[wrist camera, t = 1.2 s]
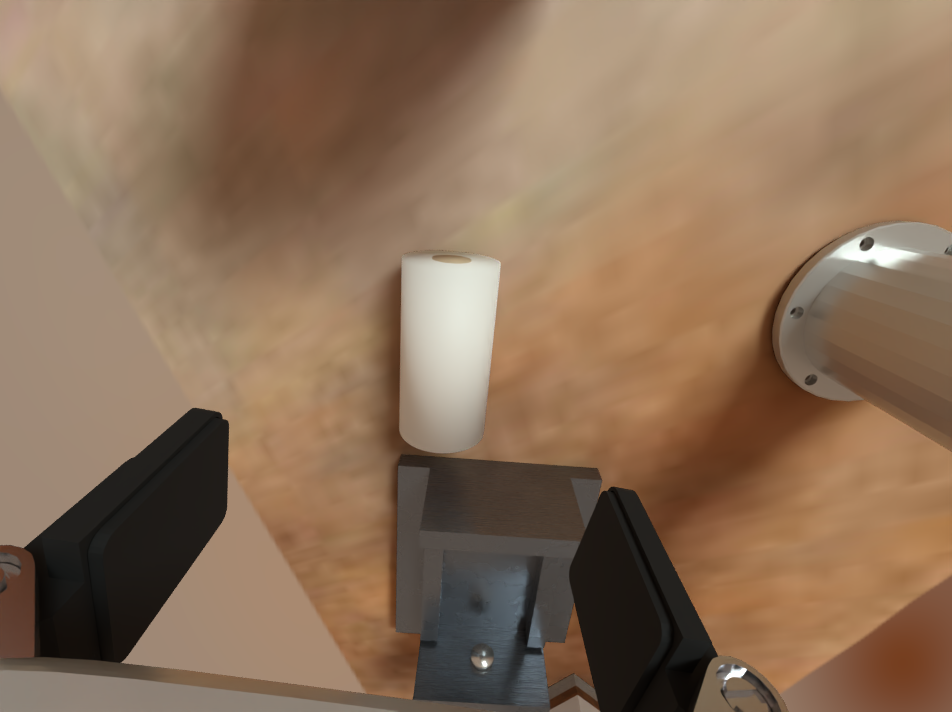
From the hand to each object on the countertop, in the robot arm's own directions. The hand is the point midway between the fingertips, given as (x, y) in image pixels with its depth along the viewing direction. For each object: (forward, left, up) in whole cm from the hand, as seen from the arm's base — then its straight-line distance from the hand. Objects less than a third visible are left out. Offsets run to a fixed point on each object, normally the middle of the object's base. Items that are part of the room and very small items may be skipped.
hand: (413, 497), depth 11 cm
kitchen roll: (0, +4, -18) cm, 19 cm away
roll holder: (-4, +23, -21) cm, 32 cm away
